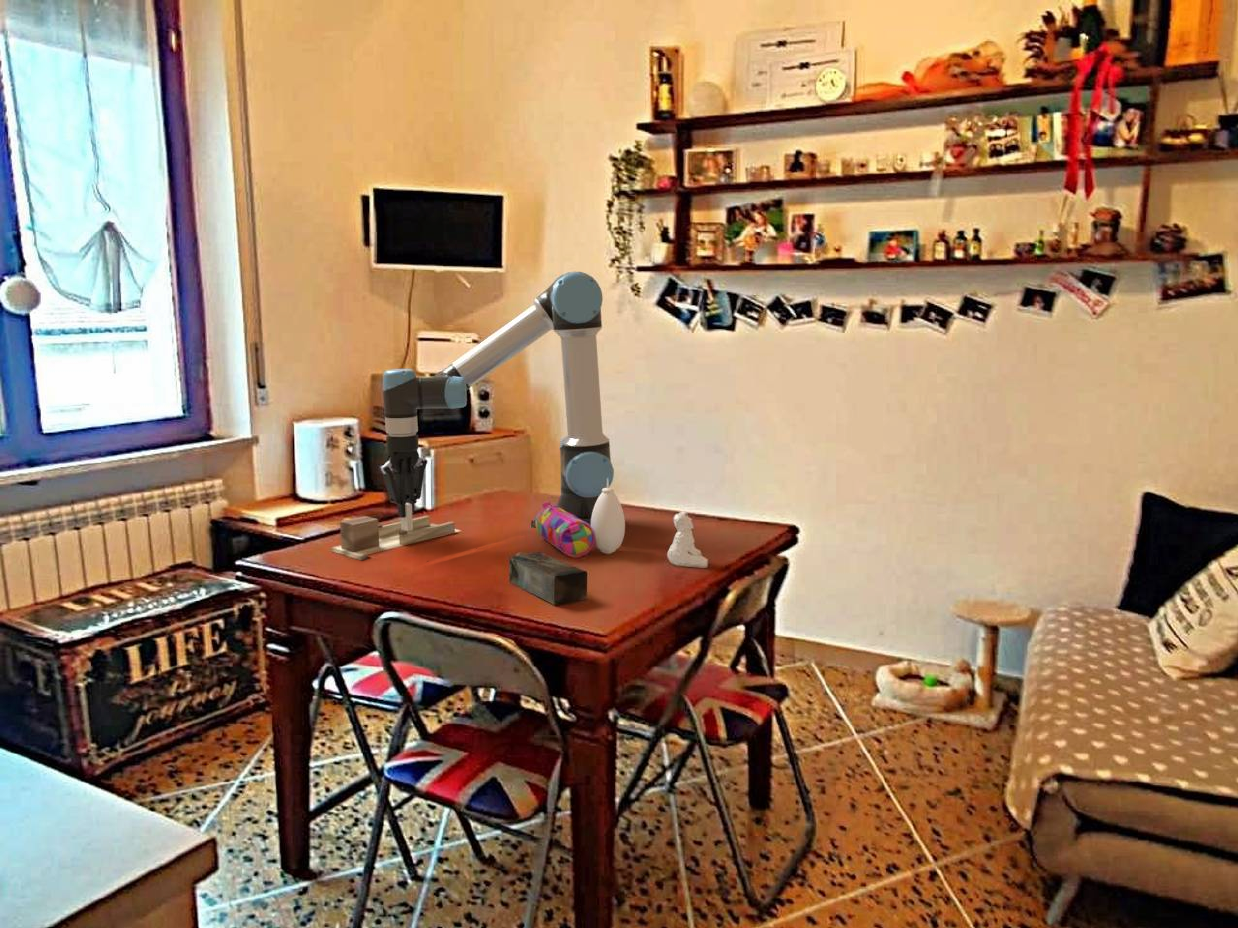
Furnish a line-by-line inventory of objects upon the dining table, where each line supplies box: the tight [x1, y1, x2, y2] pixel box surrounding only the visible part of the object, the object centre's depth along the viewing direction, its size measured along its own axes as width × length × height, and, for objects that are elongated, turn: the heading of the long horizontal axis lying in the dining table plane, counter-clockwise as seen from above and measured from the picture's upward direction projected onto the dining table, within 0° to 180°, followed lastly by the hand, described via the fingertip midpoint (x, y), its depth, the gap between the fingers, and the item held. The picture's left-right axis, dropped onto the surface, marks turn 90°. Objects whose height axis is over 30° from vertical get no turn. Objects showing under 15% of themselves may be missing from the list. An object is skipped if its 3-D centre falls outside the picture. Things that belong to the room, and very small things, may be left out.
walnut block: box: [339, 515, 379, 552], centre depth 222 cm, size 5×7×6 cm
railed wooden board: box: [331, 515, 462, 561], centre depth 230 cm, size 12×30×4 cm, turn 140°
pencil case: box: [530, 501, 595, 558], centre depth 226 cm, size 22×9×9 cm, turn 24°
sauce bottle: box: [591, 478, 626, 555], centre depth 220 cm, size 8×8×18 cm
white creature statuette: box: [666, 510, 709, 569], centre depth 212 cm, size 10×9×12 cm
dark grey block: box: [508, 551, 588, 606], centre depth 193 cm, size 8×19×7 cm, turn 35°
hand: (407, 529), depth 231 cm, fingers closed
